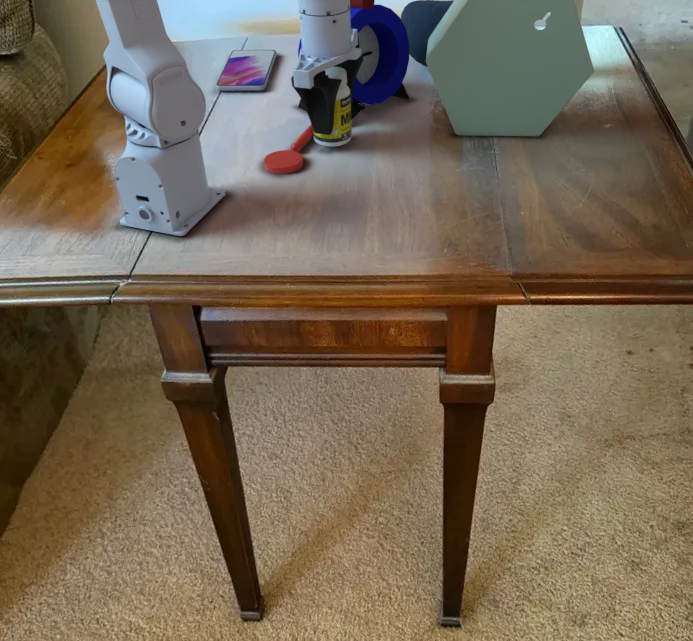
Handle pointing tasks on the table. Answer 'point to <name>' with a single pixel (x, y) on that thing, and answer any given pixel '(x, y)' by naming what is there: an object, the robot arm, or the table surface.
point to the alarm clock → (377, 55)
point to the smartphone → (246, 70)
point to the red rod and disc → (288, 156)
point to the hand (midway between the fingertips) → (331, 123)
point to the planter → (507, 64)
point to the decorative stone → (422, 24)
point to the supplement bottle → (338, 112)
